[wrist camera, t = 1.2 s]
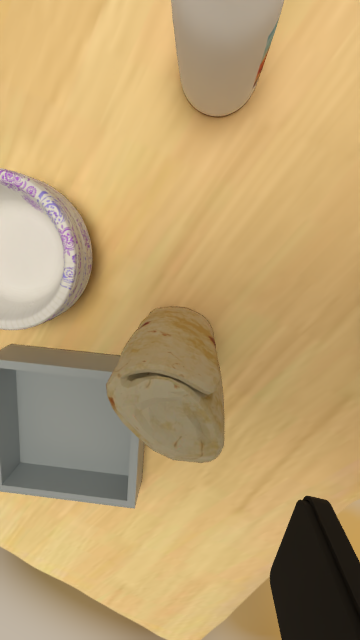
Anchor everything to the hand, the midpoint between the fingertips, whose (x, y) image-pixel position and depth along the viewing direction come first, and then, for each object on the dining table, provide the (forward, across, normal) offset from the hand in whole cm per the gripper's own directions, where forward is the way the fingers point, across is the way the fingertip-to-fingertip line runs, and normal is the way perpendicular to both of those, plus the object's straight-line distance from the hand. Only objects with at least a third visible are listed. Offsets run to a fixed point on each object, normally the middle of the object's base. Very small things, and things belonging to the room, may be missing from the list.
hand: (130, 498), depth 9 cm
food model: (+30, -1, +4) cm, 30 cm away
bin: (+30, +10, +18) cm, 36 cm away
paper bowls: (+30, +18, -2) cm, 35 cm away
